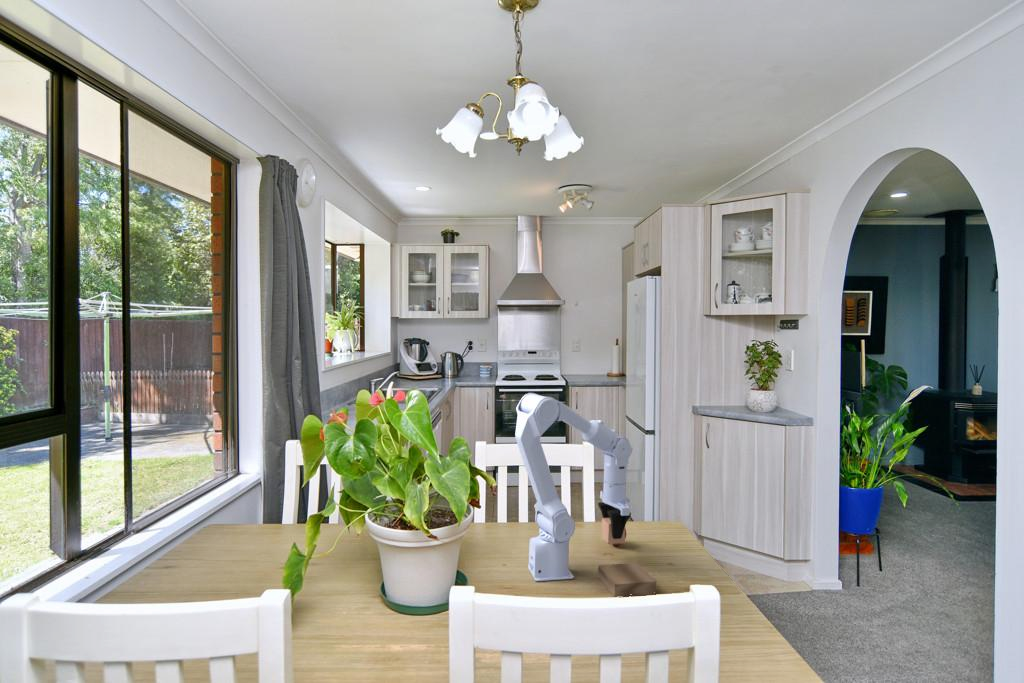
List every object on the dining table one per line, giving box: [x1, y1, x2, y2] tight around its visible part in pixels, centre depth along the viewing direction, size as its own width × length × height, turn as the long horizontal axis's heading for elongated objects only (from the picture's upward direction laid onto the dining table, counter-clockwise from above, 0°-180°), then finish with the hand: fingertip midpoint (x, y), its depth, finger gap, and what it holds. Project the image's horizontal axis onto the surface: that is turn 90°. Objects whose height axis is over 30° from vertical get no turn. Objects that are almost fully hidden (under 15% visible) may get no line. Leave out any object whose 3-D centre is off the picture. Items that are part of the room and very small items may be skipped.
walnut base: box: [597, 562, 657, 598], centre depth 127 cm, size 10×10×3 cm
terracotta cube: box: [601, 517, 626, 545], centre depth 140 cm, size 4×4×5 cm
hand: (613, 534), depth 140 cm, fingers closed on terracotta cube, 4 cm apart
